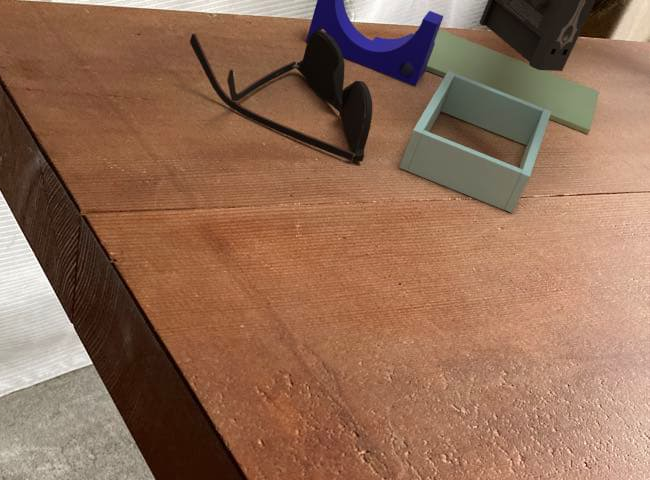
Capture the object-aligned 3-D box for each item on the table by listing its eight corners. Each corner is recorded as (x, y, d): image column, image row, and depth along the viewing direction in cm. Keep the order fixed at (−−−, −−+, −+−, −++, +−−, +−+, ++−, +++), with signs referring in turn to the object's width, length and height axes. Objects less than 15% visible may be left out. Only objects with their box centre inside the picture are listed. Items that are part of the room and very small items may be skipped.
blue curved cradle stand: (424, 72, 102) (446, 12, 98) (415, 86, 99) (437, 24, 94) (318, 29, 103) (335, -32, 98) (305, 42, 100) (322, -21, 95)
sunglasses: (169, 56, 89) (179, -1, 86) (312, 74, 95) (328, 20, 91) (216, 152, 79) (229, 91, 76) (374, 166, 85) (394, 110, 81)
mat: (597, 96, 109) (599, 91, 109) (587, 134, 101) (590, 129, 101) (430, 30, 111) (432, 26, 110) (407, 63, 102) (409, 58, 102)
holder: (535, 145, 96) (551, 111, 93) (512, 213, 85) (530, 176, 82) (434, 105, 97) (448, 70, 94) (398, 167, 85) (413, 129, 83)
